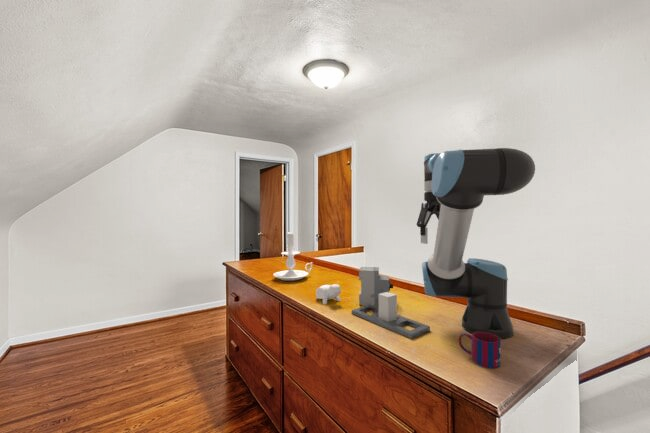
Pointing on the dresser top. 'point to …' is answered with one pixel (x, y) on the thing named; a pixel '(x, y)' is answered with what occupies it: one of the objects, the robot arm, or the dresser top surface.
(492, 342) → the mug
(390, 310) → the peg
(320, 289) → the white animal figurine
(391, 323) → the board with rectangular holes
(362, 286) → the circuit breaker
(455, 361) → the dresser top surface
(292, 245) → the candlestick
